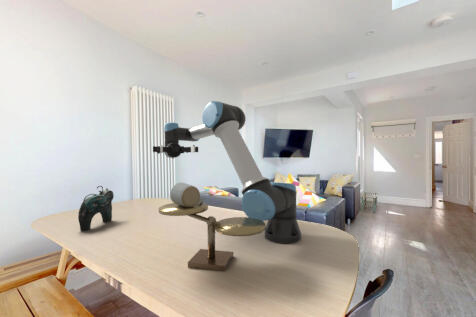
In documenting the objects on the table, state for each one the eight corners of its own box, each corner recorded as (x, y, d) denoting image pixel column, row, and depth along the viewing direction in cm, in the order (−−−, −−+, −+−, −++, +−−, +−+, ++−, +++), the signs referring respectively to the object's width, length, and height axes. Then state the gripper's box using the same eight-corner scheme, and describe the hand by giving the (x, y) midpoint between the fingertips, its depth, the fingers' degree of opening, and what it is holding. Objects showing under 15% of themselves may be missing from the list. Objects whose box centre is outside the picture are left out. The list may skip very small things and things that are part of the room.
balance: (268, 255, 75) (267, 204, 75) (262, 281, 59) (262, 216, 59) (174, 247, 83) (174, 201, 83) (148, 268, 67) (147, 211, 67)
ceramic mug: (182, 209, 68) (182, 185, 68) (169, 205, 74) (169, 183, 74) (209, 204, 76) (209, 182, 76) (195, 201, 81) (196, 181, 81)
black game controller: (106, 219, 122) (106, 183, 122) (117, 219, 121) (116, 183, 121) (75, 231, 103) (75, 188, 103) (88, 231, 102) (87, 189, 102)
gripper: (197, 157, 118) (207, 157, 98) (147, 157, 108) (147, 157, 89) (197, 143, 118) (206, 140, 98) (147, 142, 108) (146, 139, 89)
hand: (178, 148), depth 93 cm, fingers open, 13 cm apart
